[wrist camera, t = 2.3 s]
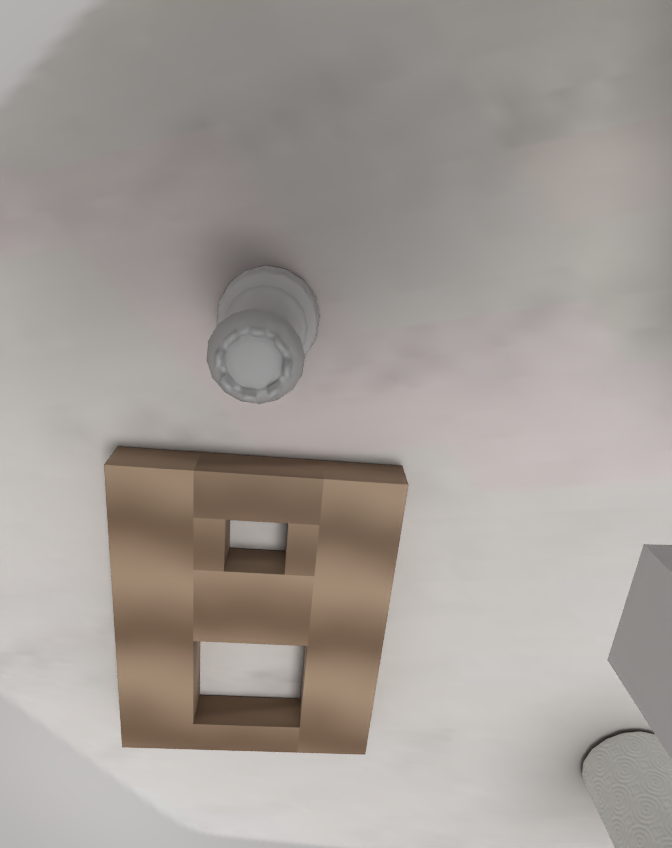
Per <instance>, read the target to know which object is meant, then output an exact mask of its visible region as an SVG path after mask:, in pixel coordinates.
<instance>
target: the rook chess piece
mask: <svg viewBox="0 0 672 848" xmlns="http://www.w3.org/2000/svg"><path fill="white" fill-rule="evenodd" d="M319 318H320V315H319V311H318V306H317V302H316V298H315V296H314V294H313V293H312V292H311V290H310V289H309V287H308V286H307V285H306V283H305V282H304V280H302V279H301V278H299V277H298V276H296V275H294V274H293V273H291V272H290V271H288V270H286V269H282V268H276V267H270V266H262V267H258V268H254V269H249V270H246V271H244V272H243V273H242V274H240V275H239V276H238V277H236V278H235V279H234V280H232V281H231V282H230V283H229V285H228V287H227V289H226V290H225V292H224V294H223V296H222V298H221V299H220V303H219V307H218V318H217V327H216V328H215V330H214V332H213V334H212V335H211V337H210V339H209V341H208V351H207V362H208V365H209V368H210V371H211V374H212V378H213V379H214V380H215V381H216V382H217V383H218V385H219V386H220V387H221V388H222V389H223V391H224V392H226V393H227V394H229V395H231V396H233V397H235V398H236V399H238V400H240V401H243V402H250V403H257V404H261V403H266V402H270V401H274V400H278V399H279V398H281V397H282V396H284V395H285V394H287V393H288V392H290V391H291V390H292V389H293V388H294V386H295V385H296V383H297V382H298V380H299V378H300V377H301V375H302V372H303V366H304V359H305V355H306V354H307V352H308V350H309V349H310V347H311V346H312V344H313V342H314V341H315V339H316V336H317V330H318V324H319Z"/></svg>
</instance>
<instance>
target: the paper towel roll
mask: <svg viewBox="0 0 672 848" xmlns="http://www.w3.org/2000/svg"><path fill="white" fill-rule="evenodd" d="M582 777H583V779H584V782H585V784H586V786H587V788H588V790H589V792H590V795H591V797H592V799H593V801H594V803H595V805H596V808H597V810H598V812H599V814H600V816H601V818H602V821H603V823H604V825H605V827H606V829H607V831H608V833H609V836H610V838H611V840H612V842H613V844H614V846H615V848H672V760H671V758H670V757H669V755H668V754H667V752H666V751H665V749H664V747H663V746H662V744H661V743H660V741H659V740H658V738H657V737H656V735H655V734H650V733H646V732H641V731H640V732H628V733H622V734H619V735H616V736H614V737H611V738H608V739H606V740H604V741H603V742H601V743H600V744H599V745H597V746H596V747H595V748H593V749H592V750H591V752H590V753H589V754H588V756H587V757H586V759H585V760H584V762H583V770H582Z"/></svg>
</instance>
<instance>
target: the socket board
mask: <svg viewBox="0 0 672 848" xmlns="http://www.w3.org/2000/svg"><path fill="white" fill-rule="evenodd" d="M104 471H105V487H106V502H107V518H108V533H109V549H110V564H111V580H112V596H113V611H114V627H115V642H116V658H117V673H118V689H119V705H120V720H121V736H122V747H132V748H165V749H199V750H232V751H266V752H299V753H332V754H365V752H366V746H367V739H368V733H369V727H370V721H371V715H372V708H373V702H374V696H375V690H376V684H377V677H378V671H379V665H380V659H381V652H382V646H383V640H384V634H385V628H386V621H387V615H388V609H389V603H390V596H391V590H392V584H393V578H394V572H395V565H396V559H397V553H398V547H399V541H400V534H401V528H402V522H403V516H404V509H405V503H406V497H407V491H408V482H407V479H406V476H405V473H404V470H403V467H402V466H398V465H383V464H368V463H353V462H339V461H324V460H309V459H294V458H279V457H265V456H250V455H235V454H220V453H206V452H191V451H176V450H161V449H147V448H132V447H117V448H116V450H115V451H114V452H113V454H112V455H111V456H110V458H109V459H108V460H107V462H106V463H105V464H104ZM230 520H241V521H258V522H275V523H288V533H287V546H286V551H271V550H253V549H235V548H229V543H230ZM200 641H205V642H228V643H251V644H274V645H296V646H305V654H304V665H303V675H302V686H301V696H300V699H293V698H265V697H238V696H211V695H200Z"/></svg>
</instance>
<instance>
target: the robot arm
mask: <svg viewBox="0 0 672 848" xmlns="http://www.w3.org/2000/svg"><path fill="white" fill-rule="evenodd" d="M608 661H609V663H610V665H611V666H612V668H613V669H614V671H615V672H616V674H617V675H618V677H619V679H620V680H621V682H622V683H623V685H624V686H625V688H626V690H627V691H628V693H629V694H630V696H631V697H632V699H633V701H634V702H635V704H636V705H637V707H638V708H639V710H640V711H641V713H642V715H643V716H644V718H645V719H646V721H647V722H648V724H649V726H650V727H651V729H652V730H653V732H654V733H655V735H656V737H657V738H658V740H659V741H660V743H661V744H662V746H663V747H664V749H665V751H666V752H667V754H668V755H669V757H670V758H671V760H672V545H649V544H644V546H643V549H642V552H641V555H640V558H639V561H638V565H637V568H636V571H635V574H634V577H633V580H632V584H631V587H630V590H629V593H628V596H627V600H626V603H625V606H624V609H623V612H622V615H621V619H620V622H619V625H618V628H617V631H616V634H615V638H614V641H613V644H612V647H611V650H610V654H609V657H608Z"/></svg>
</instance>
